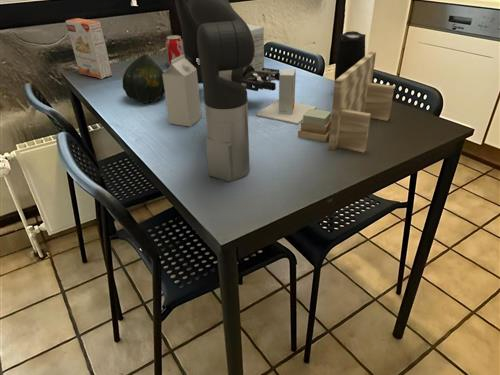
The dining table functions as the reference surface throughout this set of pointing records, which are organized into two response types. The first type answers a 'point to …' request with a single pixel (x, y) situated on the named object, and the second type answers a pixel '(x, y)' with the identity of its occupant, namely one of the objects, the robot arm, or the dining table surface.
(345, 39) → the portable speaker
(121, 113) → the dining table surface
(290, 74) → the skincare box
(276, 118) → the beige mat
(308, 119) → the sage offcut
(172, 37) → the soda can
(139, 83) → the squash
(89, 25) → the cracker box
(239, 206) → the dining table surface
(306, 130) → the oak offcut
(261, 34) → the supplement box
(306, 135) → the pine offcut
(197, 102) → the milk carton
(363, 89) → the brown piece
